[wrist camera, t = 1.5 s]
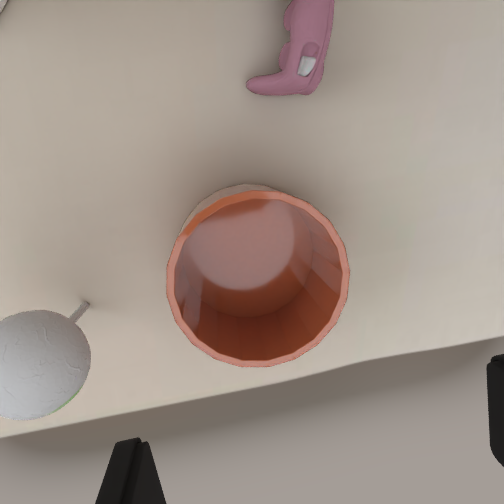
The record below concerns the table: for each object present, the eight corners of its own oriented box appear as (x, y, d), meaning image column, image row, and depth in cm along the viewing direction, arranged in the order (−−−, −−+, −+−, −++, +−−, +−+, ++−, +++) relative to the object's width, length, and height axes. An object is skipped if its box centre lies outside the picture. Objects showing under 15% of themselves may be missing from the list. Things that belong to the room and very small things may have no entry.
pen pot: (158, 295, 38) (141, 337, 29) (206, 162, 36) (204, 161, 27) (285, 337, 41) (307, 387, 31) (338, 213, 38) (378, 229, 29)
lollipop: (77, 352, 39) (-1, 465, 24) (30, 295, 37) (-86, 380, 23) (138, 314, 39) (95, 404, 24) (92, 255, 37) (17, 313, 22)
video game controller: (281, 103, 37) (333, 97, 31) (240, 93, 35) (288, 85, 29) (296, -13, 35) (355, -42, 29) (253, -33, 33) (308, -69, 27)
